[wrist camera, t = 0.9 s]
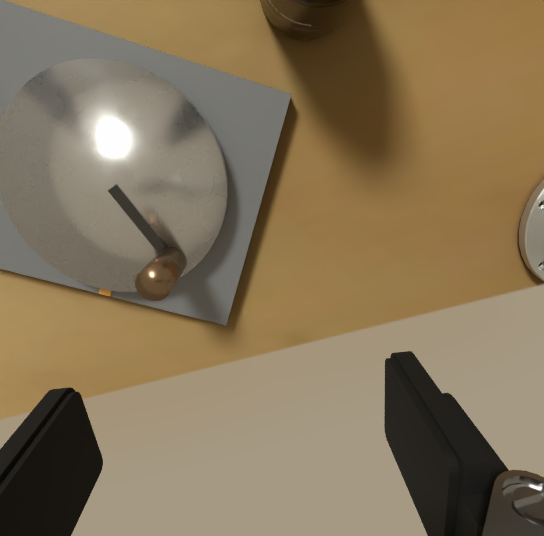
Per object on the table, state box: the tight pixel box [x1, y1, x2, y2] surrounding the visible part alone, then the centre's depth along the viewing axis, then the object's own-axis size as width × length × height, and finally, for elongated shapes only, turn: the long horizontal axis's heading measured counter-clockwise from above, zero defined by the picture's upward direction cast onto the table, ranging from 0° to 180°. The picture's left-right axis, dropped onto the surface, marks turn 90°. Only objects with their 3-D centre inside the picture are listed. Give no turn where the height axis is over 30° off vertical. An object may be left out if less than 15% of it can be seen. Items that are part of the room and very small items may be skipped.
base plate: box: [0, 0, 291, 326], centre depth 29 cm, size 22×20×2 cm
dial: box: [0, 58, 229, 301], centre depth 25 cm, size 17×17×6 cm
